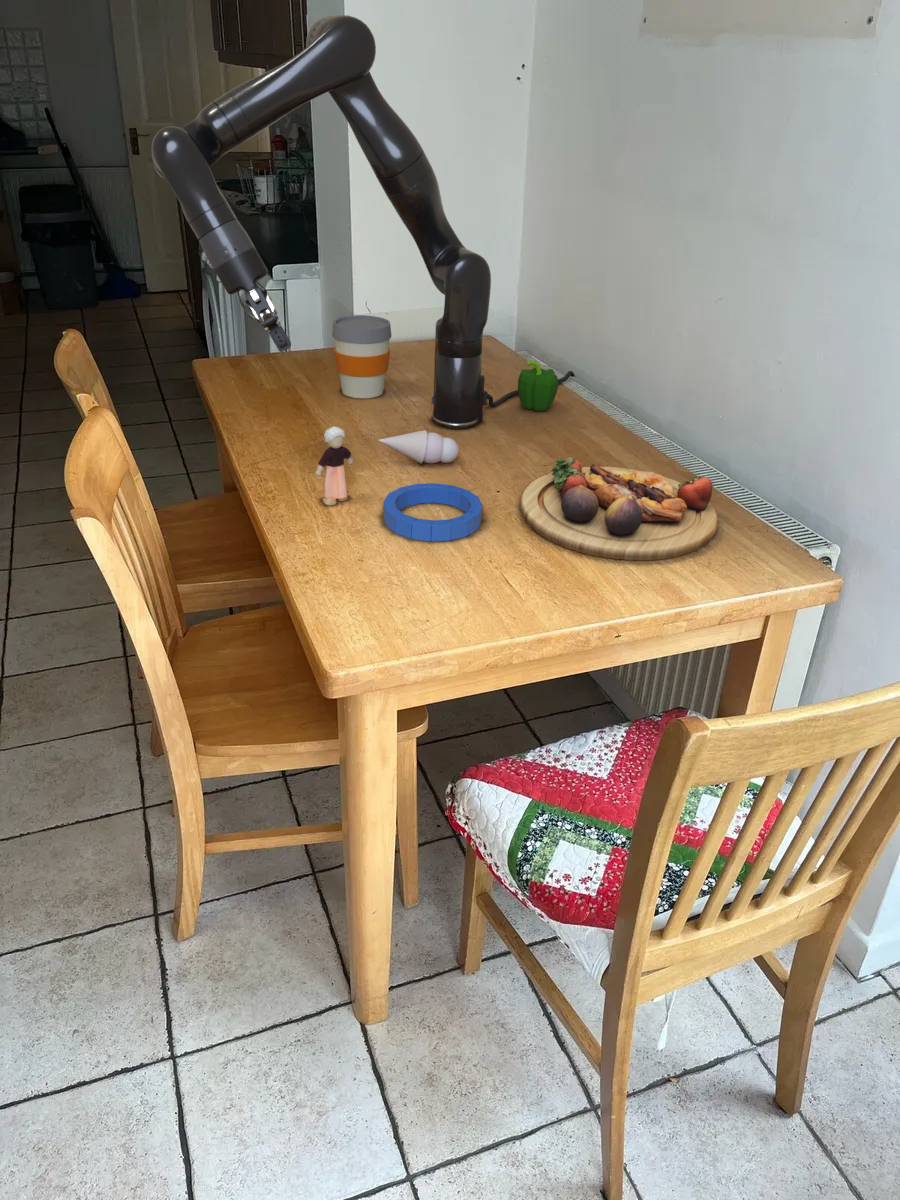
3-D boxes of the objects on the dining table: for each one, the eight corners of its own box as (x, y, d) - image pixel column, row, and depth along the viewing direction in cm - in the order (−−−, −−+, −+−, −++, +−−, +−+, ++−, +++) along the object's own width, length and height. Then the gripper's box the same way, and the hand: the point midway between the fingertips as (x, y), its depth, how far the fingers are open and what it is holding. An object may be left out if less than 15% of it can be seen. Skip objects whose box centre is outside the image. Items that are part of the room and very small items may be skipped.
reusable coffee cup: (402, 390, 201) (403, 321, 193) (368, 405, 192) (367, 333, 184) (357, 379, 206) (356, 311, 198) (322, 393, 197) (319, 323, 189)
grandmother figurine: (331, 510, 148) (329, 436, 141) (313, 504, 149) (310, 430, 143) (360, 494, 153) (359, 422, 147) (342, 488, 155) (340, 417, 148)
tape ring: (447, 491, 155) (447, 476, 154) (500, 527, 144) (501, 511, 143) (366, 510, 148) (366, 494, 146) (416, 550, 137) (416, 533, 135)
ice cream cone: (373, 461, 165) (453, 472, 168) (378, 451, 159) (460, 463, 162) (376, 429, 166) (455, 441, 169) (381, 418, 160) (463, 430, 163)
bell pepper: (561, 406, 196) (566, 360, 190) (547, 417, 189) (551, 369, 184) (525, 398, 199) (529, 353, 194) (510, 409, 192) (513, 362, 187)
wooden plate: (712, 490, 160) (721, 445, 156) (720, 576, 133) (732, 526, 129) (532, 469, 165) (536, 426, 161) (505, 548, 138) (509, 499, 134)
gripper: (252, 242, 139) (306, 338, 144) (255, 248, 152) (305, 337, 158) (209, 266, 139) (265, 362, 144) (216, 270, 152) (268, 358, 158)
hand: (286, 348), depth 151 cm, fingers open, 8 cm apart
